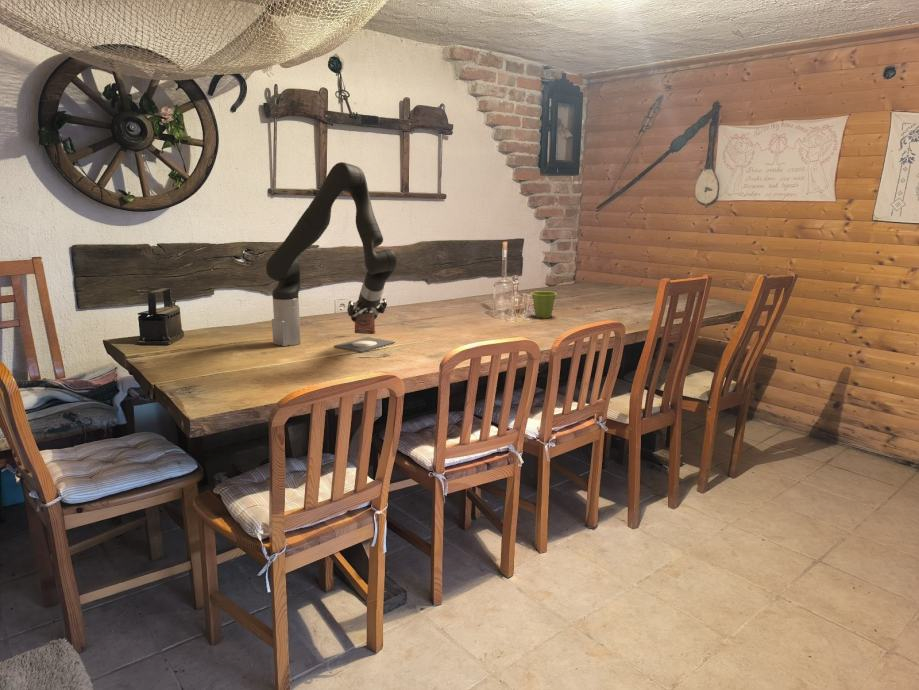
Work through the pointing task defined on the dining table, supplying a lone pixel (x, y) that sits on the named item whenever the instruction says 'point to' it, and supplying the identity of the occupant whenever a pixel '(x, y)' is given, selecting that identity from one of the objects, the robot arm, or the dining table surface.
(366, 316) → the lighter
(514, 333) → the dining table surface
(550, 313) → the plant pot
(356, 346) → the mat
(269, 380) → the dining table surface
